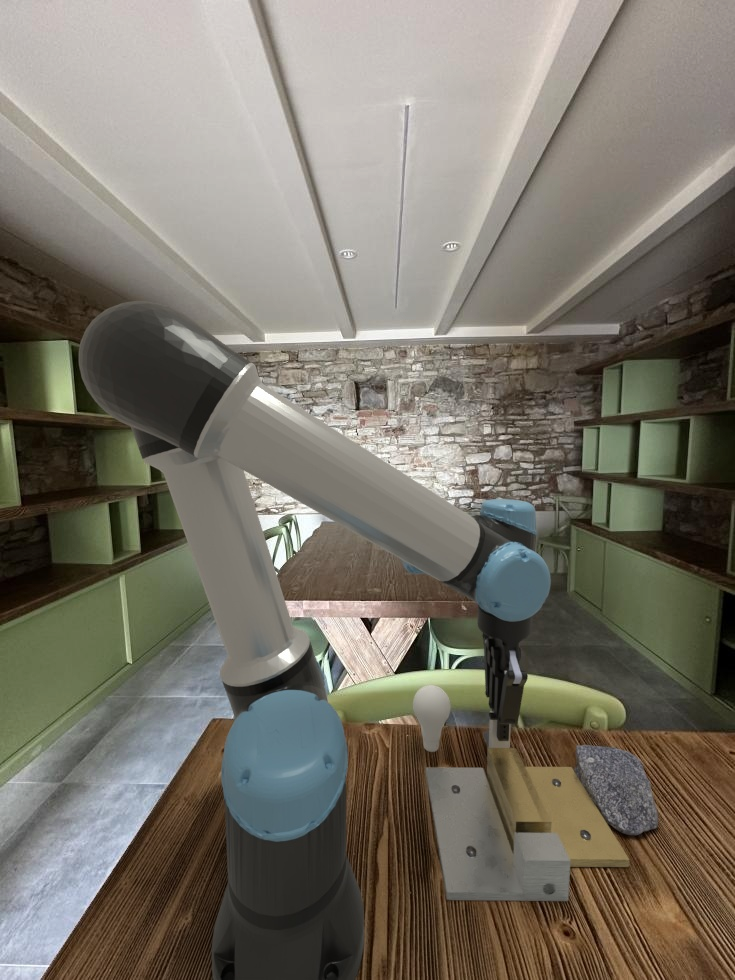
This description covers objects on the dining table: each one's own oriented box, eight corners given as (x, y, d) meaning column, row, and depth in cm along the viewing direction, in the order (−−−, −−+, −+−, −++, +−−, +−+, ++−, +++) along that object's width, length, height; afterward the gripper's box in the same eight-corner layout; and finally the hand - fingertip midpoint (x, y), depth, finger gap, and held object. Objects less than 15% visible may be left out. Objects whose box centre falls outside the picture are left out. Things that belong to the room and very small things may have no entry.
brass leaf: (517, 866, 48) (519, 829, 48) (484, 772, 62) (485, 743, 62) (628, 867, 48) (631, 830, 48) (571, 772, 62) (572, 743, 61)
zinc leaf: (446, 900, 45) (447, 859, 44) (420, 742, 69) (420, 715, 68) (568, 901, 45) (570, 860, 44) (499, 742, 68) (500, 715, 68)
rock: (565, 742, 63) (629, 735, 63) (566, 772, 64) (630, 765, 63) (610, 815, 51) (690, 807, 51) (611, 850, 52) (689, 842, 52)
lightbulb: (434, 771, 63) (435, 704, 61) (404, 749, 67) (405, 687, 66) (457, 751, 67) (458, 688, 65) (428, 732, 71) (429, 673, 70)
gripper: (550, 624, 53) (541, 789, 55) (514, 589, 65) (508, 724, 68) (492, 624, 53) (486, 789, 55) (468, 589, 65) (464, 724, 68)
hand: (498, 753), depth 61 cm, fingers closed
